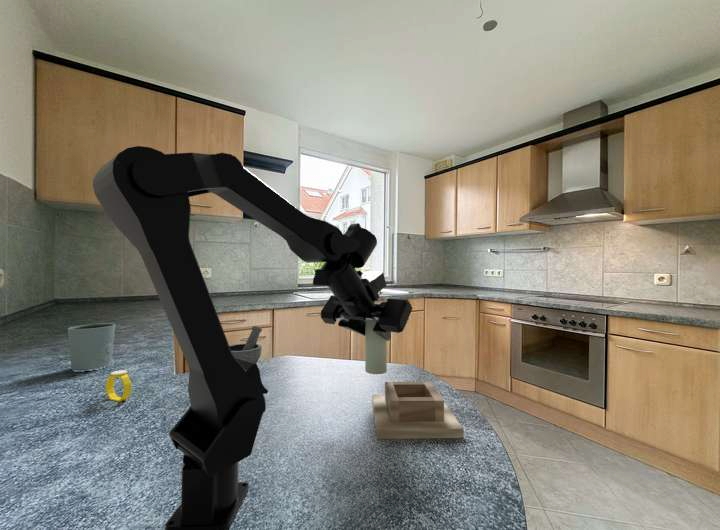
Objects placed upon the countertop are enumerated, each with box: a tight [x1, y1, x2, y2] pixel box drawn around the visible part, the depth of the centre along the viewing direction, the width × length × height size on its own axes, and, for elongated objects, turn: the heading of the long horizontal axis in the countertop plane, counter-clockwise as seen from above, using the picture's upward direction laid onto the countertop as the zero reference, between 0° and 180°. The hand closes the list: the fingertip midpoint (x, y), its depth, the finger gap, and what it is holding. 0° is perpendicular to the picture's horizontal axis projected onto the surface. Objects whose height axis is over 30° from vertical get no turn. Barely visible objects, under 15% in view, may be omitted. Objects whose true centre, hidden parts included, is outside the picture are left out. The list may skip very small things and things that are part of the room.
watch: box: [105, 369, 132, 403], centre depth 63 cm, size 6×3×6 cm, turn 71°
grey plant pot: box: [67, 322, 116, 370], centre depth 85 cm, size 10×10×12 cm
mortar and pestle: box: [229, 325, 263, 364], centre depth 81 cm, size 11×9×12 cm
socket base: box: [371, 381, 464, 440], centre depth 55 cm, size 14×14×5 cm
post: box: [364, 317, 388, 375], centre depth 61 cm, size 4×4×13 cm
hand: (379, 337), depth 62 cm, fingers closed on post, 4 cm apart
